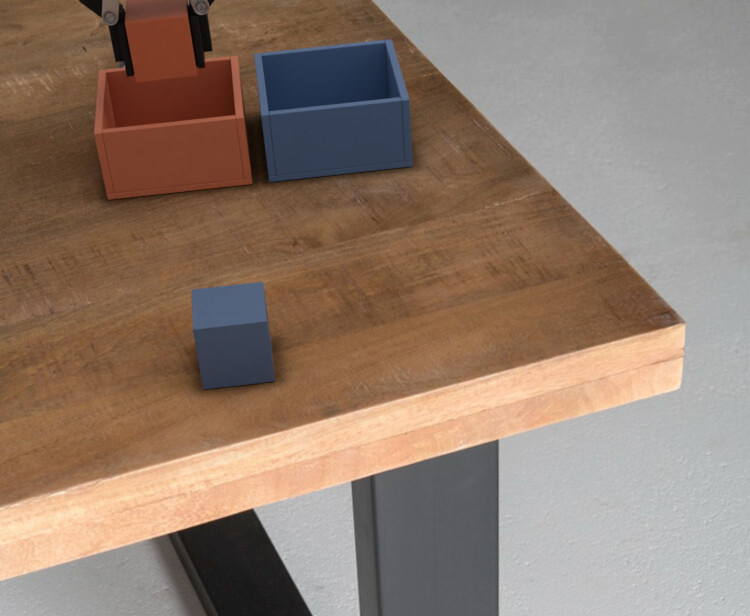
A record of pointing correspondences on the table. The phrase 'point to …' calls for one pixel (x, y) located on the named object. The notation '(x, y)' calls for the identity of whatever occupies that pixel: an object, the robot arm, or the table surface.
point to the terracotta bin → (172, 131)
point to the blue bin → (333, 110)
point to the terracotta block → (159, 39)
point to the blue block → (232, 335)
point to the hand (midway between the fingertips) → (165, 62)
